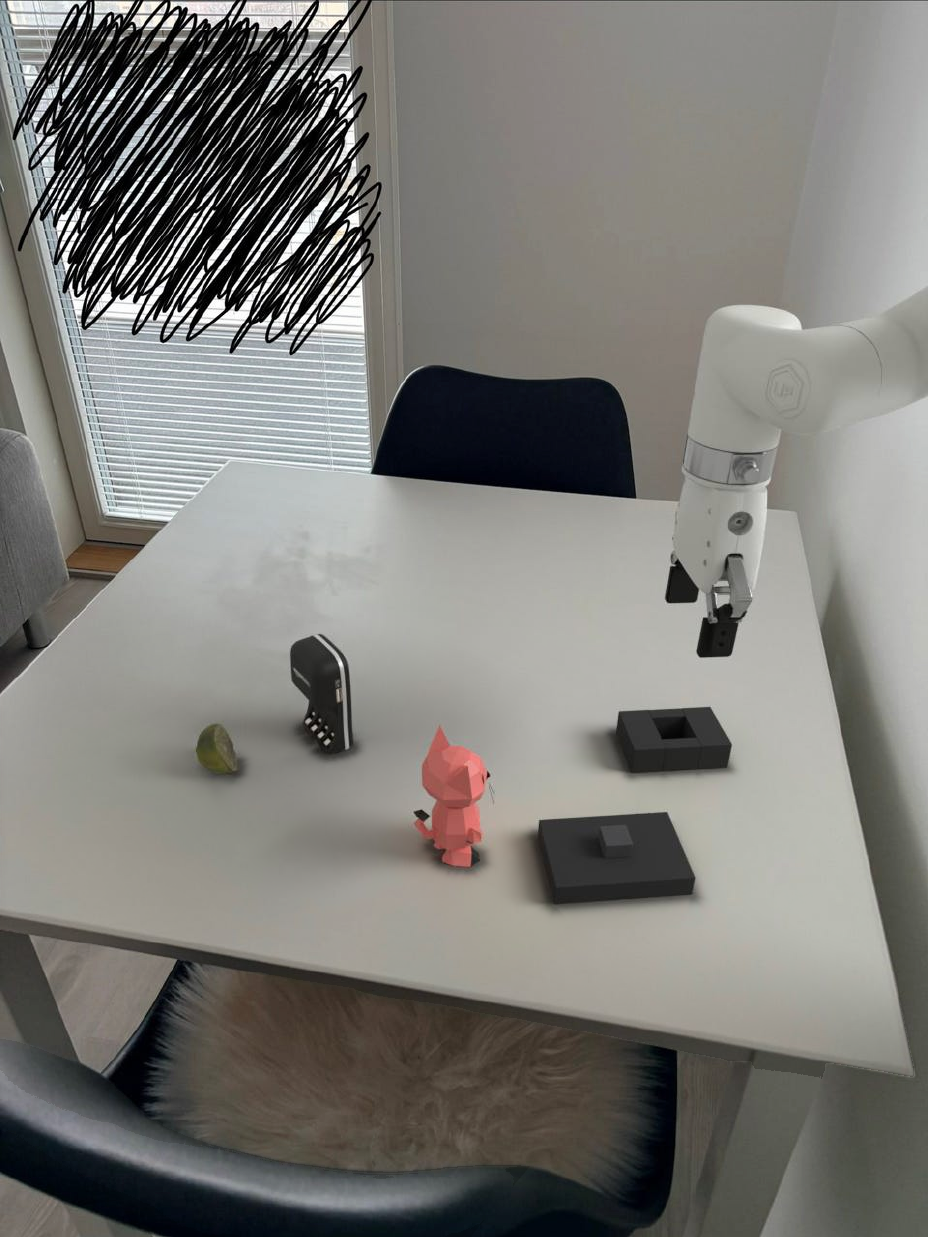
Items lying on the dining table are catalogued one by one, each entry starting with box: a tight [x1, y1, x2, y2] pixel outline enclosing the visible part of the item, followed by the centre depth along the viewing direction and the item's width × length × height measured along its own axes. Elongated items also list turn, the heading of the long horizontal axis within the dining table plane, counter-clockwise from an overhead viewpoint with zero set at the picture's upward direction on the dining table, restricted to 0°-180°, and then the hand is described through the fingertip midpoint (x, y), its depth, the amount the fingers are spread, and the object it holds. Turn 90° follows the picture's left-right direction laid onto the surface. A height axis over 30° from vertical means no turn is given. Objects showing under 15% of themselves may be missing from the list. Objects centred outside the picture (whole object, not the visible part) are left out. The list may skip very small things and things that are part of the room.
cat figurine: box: [413, 723, 495, 868], centre depth 76 cm, size 7×7×12 cm
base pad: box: [537, 811, 696, 905], centre depth 77 cm, size 12×8×4 cm, turn 96°
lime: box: [195, 723, 238, 774], centre depth 86 cm, size 4×5×5 cm
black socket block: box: [615, 706, 733, 774], centre depth 91 cm, size 10×6×3 cm, turn 96°
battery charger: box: [289, 633, 354, 754], centre depth 89 cm, size 7×4×11 cm, turn 36°
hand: (696, 627), depth 84 cm, fingers open, 9 cm apart
